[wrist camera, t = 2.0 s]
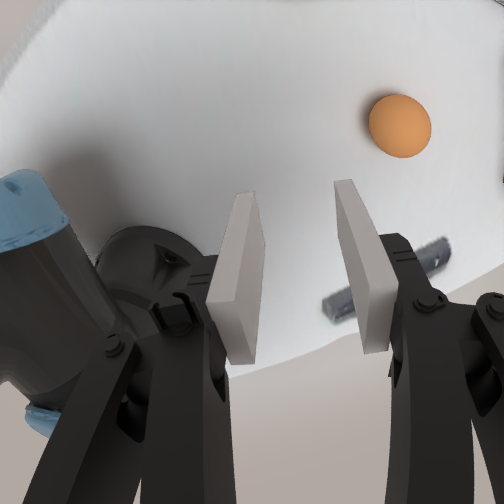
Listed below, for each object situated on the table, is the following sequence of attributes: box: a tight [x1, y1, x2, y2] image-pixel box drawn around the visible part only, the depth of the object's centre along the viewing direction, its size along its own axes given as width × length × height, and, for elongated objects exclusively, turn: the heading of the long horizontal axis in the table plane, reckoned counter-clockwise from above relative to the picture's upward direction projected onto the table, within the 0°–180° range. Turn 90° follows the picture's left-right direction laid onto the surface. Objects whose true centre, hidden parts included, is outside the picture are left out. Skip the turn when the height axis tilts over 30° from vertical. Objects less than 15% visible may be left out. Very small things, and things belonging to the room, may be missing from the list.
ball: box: [369, 94, 431, 158], centre depth 23 cm, size 6×6×6 cm
